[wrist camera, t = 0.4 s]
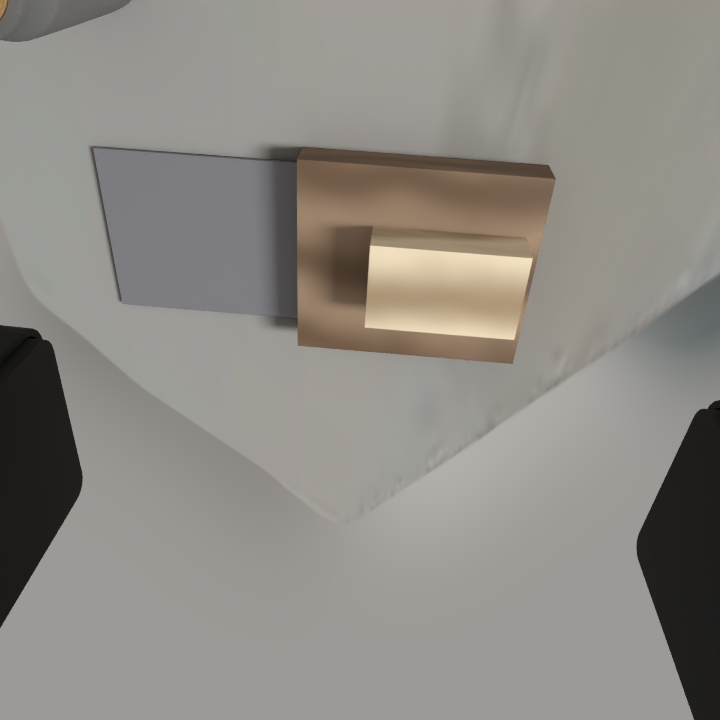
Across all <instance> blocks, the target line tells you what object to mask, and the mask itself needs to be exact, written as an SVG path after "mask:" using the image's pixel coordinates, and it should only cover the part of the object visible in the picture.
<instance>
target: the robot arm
mask: <svg viewBox="0 0 720 720" xmlns="http://www.w3.org/2000/svg"><path fill="white" fill-rule="evenodd" d="M81 487H82V470H81V466H80V462H79V457H78V453H77V449H76V444H75V440H74V436H73V432H72V427H71V423H70V419H69V414H68V410H67V405H66V401H65V397H64V392H63V388H62V384H61V379H60V375H59V371H58V366H57V363H56V358H55V353H54V350H53V347H52V344H51V343H50V342H49V341H47V340H43V339H42V337H41V335H40V333H39V332H38V331H37V330H34V329H31V328H21V327H12V326H2V325H0V627H1V626H2V624H3V622H4V621H5V619H6V617H7V615H8V614H9V612H10V611H11V609H12V607H13V606H14V604H15V602H16V600H17V599H18V597H19V595H20V594H21V592H22V590H23V589H24V587H25V585H26V584H27V582H28V580H29V579H30V577H31V575H32V574H33V572H34V570H35V569H36V567H37V565H38V564H39V562H40V560H41V558H42V557H43V555H44V554H45V552H46V550H47V549H48V547H49V545H50V544H51V542H52V540H53V539H54V537H55V535H56V534H57V532H58V530H59V528H60V527H61V525H62V524H63V522H64V520H65V519H66V517H67V515H68V514H69V512H70V510H71V508H72V507H73V505H74V503H75V502H76V500H77V498H78V496H79V494H80V491H81ZM637 556H638V560H639V563H640V566H641V569H642V571H643V575H644V577H645V580H646V583H647V586H648V589H649V592H650V595H651V597H652V600H653V603H654V606H655V609H656V612H657V614H658V617H659V620H660V623H661V626H662V629H663V632H664V634H665V638H666V640H667V643H668V646H669V649H670V652H671V655H672V658H673V660H674V663H675V666H676V669H677V672H678V674H679V677H680V680H681V683H682V686H683V689H684V692H685V695H686V698H687V701H688V703H689V706H690V709H691V712H692V715H693V718H694V720H720V400H719V401H715V402H713V403H712V404H711V405H710V406H709V407H708V409H700V410H699V411H698V412H697V413H696V414H695V416H694V418H693V420H692V422H691V424H690V426H689V429H688V431H687V433H686V435H685V437H684V439H683V441H682V444H681V446H680V448H679V450H678V452H677V454H676V456H675V458H674V460H673V462H672V465H671V467H670V469H669V471H668V473H667V475H666V477H665V479H664V482H663V484H662V486H661V488H660V490H659V492H658V494H657V496H656V499H655V501H654V503H653V505H652V507H651V509H650V511H649V513H648V516H647V518H646V520H645V522H644V524H643V526H642V529H641V531H640V533H639V535H638V539H637Z"/></svg>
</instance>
